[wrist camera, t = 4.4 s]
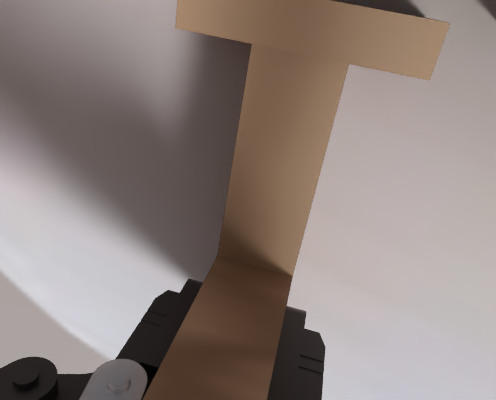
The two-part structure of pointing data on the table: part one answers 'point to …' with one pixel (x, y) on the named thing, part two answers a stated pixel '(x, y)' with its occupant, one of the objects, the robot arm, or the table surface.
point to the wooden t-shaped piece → (276, 173)
